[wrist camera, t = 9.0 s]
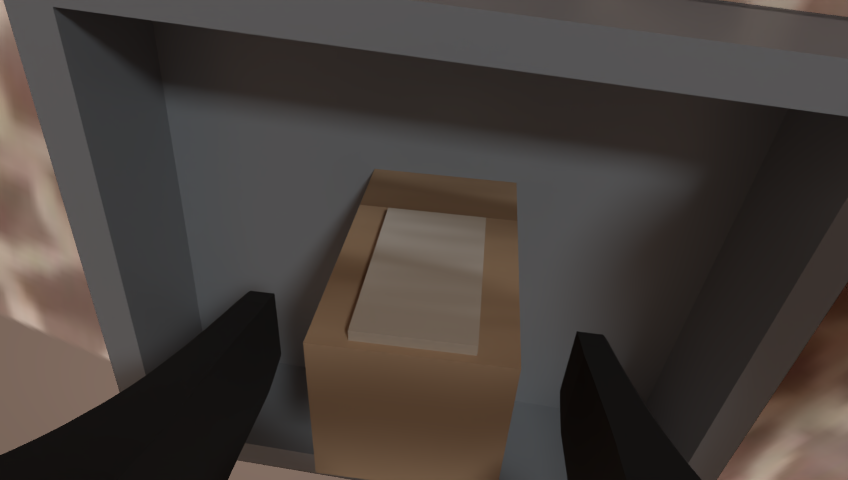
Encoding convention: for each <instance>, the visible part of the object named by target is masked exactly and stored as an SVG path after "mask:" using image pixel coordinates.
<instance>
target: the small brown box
mask: <svg viewBox="0 0 848 480" xmlns="http://www.w3.org/2000/svg"><path fill="white" fill-rule="evenodd" d="M303 347H304V357H305V368H306V378H307V388H308V398H309V408H310V418H311V429H312V439H313V449H314V459H315V469H316V473H323V474H330V475H337V476H344V477H352V478H359V479H366V480H499V476H500V472H501V467H502V462H503V457H504V452H505V447H506V442H507V437H508V432H509V427H510V422H511V417H512V412H513V407H514V402H515V397H516V392H517V387H518V382H519V378H520V373H521V342H520V302H519V262H518V223H517V183H514V182H504V181H494V180H483V179H473V178H463V177H453V176H443V175H432V174H422V173H412V172H402V171H391V170H381V169H374V172H373V174H372V176H371V179H370V181H369V184H368V186H367V189H366V191H365V194H364V196H363V198H362V201H361V203H360V206H359V208H358V211H357V213H356V215H355V218H354V220H353V223H352V225H351V228H350V230H349V232H348V235H347V237H346V240H345V242H344V245H343V247H342V249H341V252H340V254H339V257H338V259H337V262H336V264H335V266H334V269H333V271H332V274H331V276H330V279H329V281H328V283H327V286H326V288H325V291H324V293H323V296H322V298H321V301H320V303H319V305H318V308H317V310H316V313H315V315H314V318H313V320H312V322H311V325H310V327H309V330H308V332H307V335H306V337H305V339H304V342H303Z"/></svg>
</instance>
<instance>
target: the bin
mask: <svg viewBox="0 0 848 480" xmlns="http://www.w3.org/2000/svg"><path fill="white" fill-rule="evenodd" d="M4 4H5V7H6V10H7V14H8V17H9V20H10V24H11V27H12V31H13V34H14V37H15V41H16V44H17V47H18V51H19V54H20V58H21V61H22V64H23V68H24V71H25V74H26V78H27V81H28V84H29V88H30V91H31V95H32V98H33V101H34V105H35V108H36V111H37V115H38V118H39V122H40V125H41V128H42V132H43V135H44V138H45V142H46V145H47V149H48V152H49V155H50V159H51V162H52V165H53V169H54V172H55V176H56V179H57V182H58V186H59V189H60V192H61V196H62V199H63V203H64V206H65V209H66V213H67V216H68V219H69V223H70V226H71V229H72V233H73V236H74V240H75V243H76V246H77V250H78V253H79V256H80V260H81V263H82V267H83V270H84V273H85V277H86V280H87V283H88V287H89V290H90V294H91V297H92V300H93V304H94V307H95V310H96V314H97V317H98V321H99V324H100V327H101V331H102V334H103V337H104V341H105V344H106V348H107V351H108V354H109V358H110V361H111V364H112V368H113V371H114V374H115V378H116V381H117V385H118V388H119V391H120V392H122V391H123V390H125V389H126V388H128V387H130V386H131V385H133V384H134V383H135V382H137V381H138V380H140V379H141V378H143V377H144V376H146V375H147V374H148V373H150V372H151V371H153V370H154V369H155V368H157V367H158V366H159V365H161V364H162V363H163V362H164V361H166V360H167V359H168V358H170V357H171V356H172V355H174V354H175V353H176V352H178V351H179V350H180V349H182V348H183V347H184V346H185V345H186V344H188V343H189V342H190V341H191V340H193V339H194V338H195V337H196V336H197V335H199V334H200V333H201V332H202V331H203V330H205V329H206V328H207V327H208V326H209V325H210V324H212V323H213V322H214V321H215V320H216V319H217V318H219V317H220V316H221V315H222V314H223V313H224V312H225V311H227V310H228V309H229V308H230V307H231V306H232V305H233V304H235V303H236V302H237V301H238V300H239V299H240V298H242V297H243V296H244V295H245V294H246V293H248V292H249V291H258V292H266V293H274V294H275V302H276V311H277V320H278V329H279V337H280V346H281V357H280V361H279V364H278V367H277V370H276V373H275V376H274V379H273V382H272V385H271V388H270V391H269V393H268V396H267V398H266V400H265V402H264V404H263V406H262V409H261V411H260V413H259V415H258V417H257V419H256V421H255V423H254V426H253V428H252V430H251V432H250V434H249V436H248V438H247V440H246V442H245V444H244V446H243V449H242V451H241V453H240V455H239V457H238V459H237V460H239V461H245V462H251V463H257V464H263V465H269V466H274V467H281V468H286V469H293V470H298V471H304V472H310V473H316V469H315V459H314V449H313V439H312V429H311V418H310V408H309V398H308V388H307V378H306V368H305V357H304V347H303V342H304V339H305V337H306V335H307V332H308V330H309V327H310V325H311V322H312V320H313V318H314V315H315V313H316V310H317V308H318V305H319V303H320V301H321V298H322V296H323V293H324V291H325V288H326V286H327V283H328V281H329V279H330V276H331V274H332V271H333V269H334V266H335V264H336V262H337V259H338V257H339V254H340V252H341V249H342V247H343V245H344V242H345V240H346V237H347V235H348V232H349V230H350V228H351V225H352V223H353V220H354V218H355V215H356V213H357V211H358V208H359V206H360V203H361V201H362V198H363V196H364V194H365V191H366V189H367V186H368V184H369V181H370V179H371V176H372V174H373V172H374V169H381V170H391V171H402V172H412V173H422V174H432V175H443V176H453V177H463V178H473V179H483V180H494V181H504V182H514V183H517V223H518V262H519V302H520V342H521V373H520V378H519V382H518V387H517V392H516V397H515V402H514V407H513V412H512V417H511V422H510V427H509V432H508V437H507V442H506V447H505V452H504V457H503V462H502V467H501V472H500V476H499V480H567V473H566V467H565V460H564V452H563V445H562V438H561V426H560V389H561V385H562V382H563V378H564V374H565V371H566V367H567V364H568V360H569V357H570V353H571V350H572V346H573V343H574V339H575V336H576V332H577V331H578V332H586V333H594V334H602V335H604V336H605V337H606V339H607V340H608V342H609V344H610V346H611V348H612V349H613V351H614V353H615V355H616V357H617V358H618V360H619V362H620V364H621V365H622V367H623V369H624V371H625V372H626V374H627V376H628V377H629V379H630V381H631V382H632V384H633V386H634V387H635V389H636V390H637V392H638V394H639V395H640V397H641V398H642V400H643V401H644V403H645V404H646V406H647V407H648V409H649V410H650V412H651V414H652V415H653V417H654V418H655V419H656V421H657V422H658V424H659V425H660V427H661V428H662V429H663V431H664V432H665V434H666V435H667V436H668V438H669V439H670V440H671V442H672V443H673V445H674V446H675V447H676V449H677V450H678V451H679V452H680V454H681V455H682V456H683V458H684V459H685V460H686V461H687V463H688V464H689V465H690V466H691V468H692V469H693V470H694V471H695V472H696V474H697V475H698V476H699V477H700V478H701V479H702V480H717V478H718V477H719V475H720V474H721V472H722V471H723V469H724V468H725V466H726V465H727V463H728V462H729V460H730V459H731V457H732V456H733V454H734V453H735V451H736V450H737V448H738V447H739V445H740V444H741V442H742V441H743V439H744V438H745V436H746V435H747V433H748V432H749V430H750V429H751V427H752V426H753V424H754V422H755V421H756V419H757V418H758V416H759V415H760V413H761V412H762V410H763V409H764V407H765V406H766V404H767V403H768V401H769V400H770V398H771V397H772V395H773V394H774V392H775V391H776V389H777V388H778V386H779V385H780V383H781V382H782V380H783V379H784V377H785V376H786V374H787V373H788V371H789V370H790V368H791V367H792V365H793V364H794V362H795V361H796V359H797V358H798V356H799V355H800V353H801V352H802V350H803V349H804V347H805V346H806V344H807V343H808V341H809V340H810V338H811V336H812V335H813V333H814V332H815V330H816V329H817V327H818V326H819V324H820V323H821V321H822V320H823V318H824V317H825V315H826V314H827V312H828V311H829V309H830V308H831V306H832V305H833V303H834V302H835V300H836V299H837V297H838V296H839V294H840V293H841V291H842V290H843V288H844V287H845V285H846V284H847V282H848V17H842V16H834V15H827V14H819V13H812V12H804V11H796V10H789V9H781V8H773V7H766V6H758V5H751V4H743V3H735V2H728V1H720V0H4ZM316 474H322V475H328V476H334V477H340V478H345V479H352V480H366V479H359V478H352V477H344V476H337V475H330V474H323V473H316Z"/></svg>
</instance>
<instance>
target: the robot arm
mask: <svg viewBox="0 0 848 480" xmlns="http://www.w3.org/2000/svg"><path fill="white" fill-rule="evenodd" d="M280 357H281V346H280V337H279V329H278V320H277V311H276V302H275V294H274V293H266V292H258V291H249V292H248V293H246V294H245V295H244V296H243V297H242V298H240V299H239V300H238V301H237V302H236V303H235V304H233V305H232V306H231V307H230V308H229V309H228V310H227V311H225V312H224V313H223V314H222V315H221V316H220V317H219V318H217V319H216V320H215V321H214V322H213V323H212V324H210V325H209V326H208V327H207V328H206V329H205V330H203V331H202V332H201V333H200V334H199V335H197V336H196V337H195V338H194V339H193V340H191V341H190V342H189V343H188V344H186V345H185V346H184V347H183V348H182V349H180V350H179V351H178V352H176V353H175V354H174V355H172V356H171V357H170V358H168V359H167V360H166V361H164V362H163V363H162V364H161V365H159V366H158V367H157V368H155V369H154V370H153V371H151V372H150V373H148V374H147V375H146V376H144V377H143V378H141V379H140V380H138V381H137V382H135V383H134V384H133V385H131V386H130V387H128V388H126V389H125V390H123V391H122V392H120V393H119V394H117V395H115V396H114V397H112V398H111V399H109V400H107V401H106V402H104V403H102V404H101V405H99V406H97V407H95V408H93V409H92V410H90V411H88V412H86V413H84V414H83V415H81V416H79V417H77V418H75V419H74V420H72V421H70V422H68V423H66V424H65V425H63V426H61V427H59V428H57V429H55V430H53V431H51V432H49V433H47V434H45V435H43V436H41V437H39V438H37V439H35V440H33V441H30V442H28V443H26V444H24V445H22V446H20V447H18V448H16V449H13V450H11V451H9V452H7V453H4V454H2V455H0V480H228V478H229V476H230V474H231V471H232V469H233V467H234V465H235V463H236V461H237V459H238V457H239V455H240V453H241V451H242V449H243V446H244V444H245V442H246V440H247V438H248V436H249V434H250V432H251V430H252V428H253V426H254V423H255V421H256V419H257V417H258V415H259V413H260V411H261V409H262V406H263V404H264V402H265V400H266V398H267V396H268V393H269V391H270V388H271V385H272V382H273V379H274V376H275V373H276V370H277V367H278V364H279V361H280ZM560 426H561V438H562V445H563V452H564V460H565V467H566V473H567V480H702V479H701V478H700V477H699V476H698V475H697V474H696V472H695V471H694V470H693V469H692V468H691V466H690V465H689V464H688V463H687V461H686V460H685V459H684V458H683V456H682V455H681V454H680V452H679V451H678V450H677V449H676V447H675V446H674V445H673V443H672V442H671V440H670V439H669V438H668V436H667V435H666V434H665V432H664V431H663V429H662V428H661V427H660V425H659V424H658V422H657V421H656V419H655V418H654V417H653V415H652V414H651V412H650V410H649V409H648V407H647V406H646V404H645V403H644V401H643V400H642V398H641V397H640V395H639V394H638V392H637V390H636V389H635V387H634V386H633V384H632V382H631V381H630V379H629V377H628V376H627V374H626V372H625V371H624V369H623V367H622V365H621V364H620V362H619V360H618V358H617V357H616V355H615V353H614V351H613V349H612V348H611V346H610V344H609V342H608V340H607V339H606V337H605V336H604V335H602V334H594V333H586V332H578V331H577V332H576V336H575V339H574V343H573V346H572V350H571V353H570V357H569V360H568V364H567V367H566V371H565V374H564V378H563V382H562V385H561V389H560Z"/></svg>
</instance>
